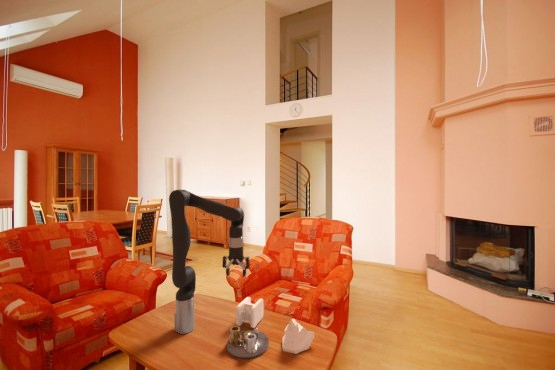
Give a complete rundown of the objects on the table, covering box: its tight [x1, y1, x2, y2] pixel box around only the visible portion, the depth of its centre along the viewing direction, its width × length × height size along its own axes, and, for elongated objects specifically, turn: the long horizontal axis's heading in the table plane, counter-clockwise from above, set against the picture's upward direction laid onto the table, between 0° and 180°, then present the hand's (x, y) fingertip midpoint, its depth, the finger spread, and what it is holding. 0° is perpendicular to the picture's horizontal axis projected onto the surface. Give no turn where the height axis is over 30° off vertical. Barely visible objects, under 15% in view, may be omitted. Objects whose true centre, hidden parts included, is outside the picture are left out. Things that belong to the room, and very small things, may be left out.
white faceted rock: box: [281, 318, 316, 355], centre depth 124 cm, size 12×15×14 cm
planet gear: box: [244, 334, 259, 354], centre depth 120 cm, size 6×6×6 cm
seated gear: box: [228, 325, 242, 345], centre depth 127 cm, size 6×6×6 cm
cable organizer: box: [235, 296, 265, 329], centre depth 147 cm, size 15×11×12 cm
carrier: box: [226, 327, 270, 360], centre depth 126 cm, size 20×20×6 cm
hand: (236, 275), depth 137 cm, fingers open, 8 cm apart
